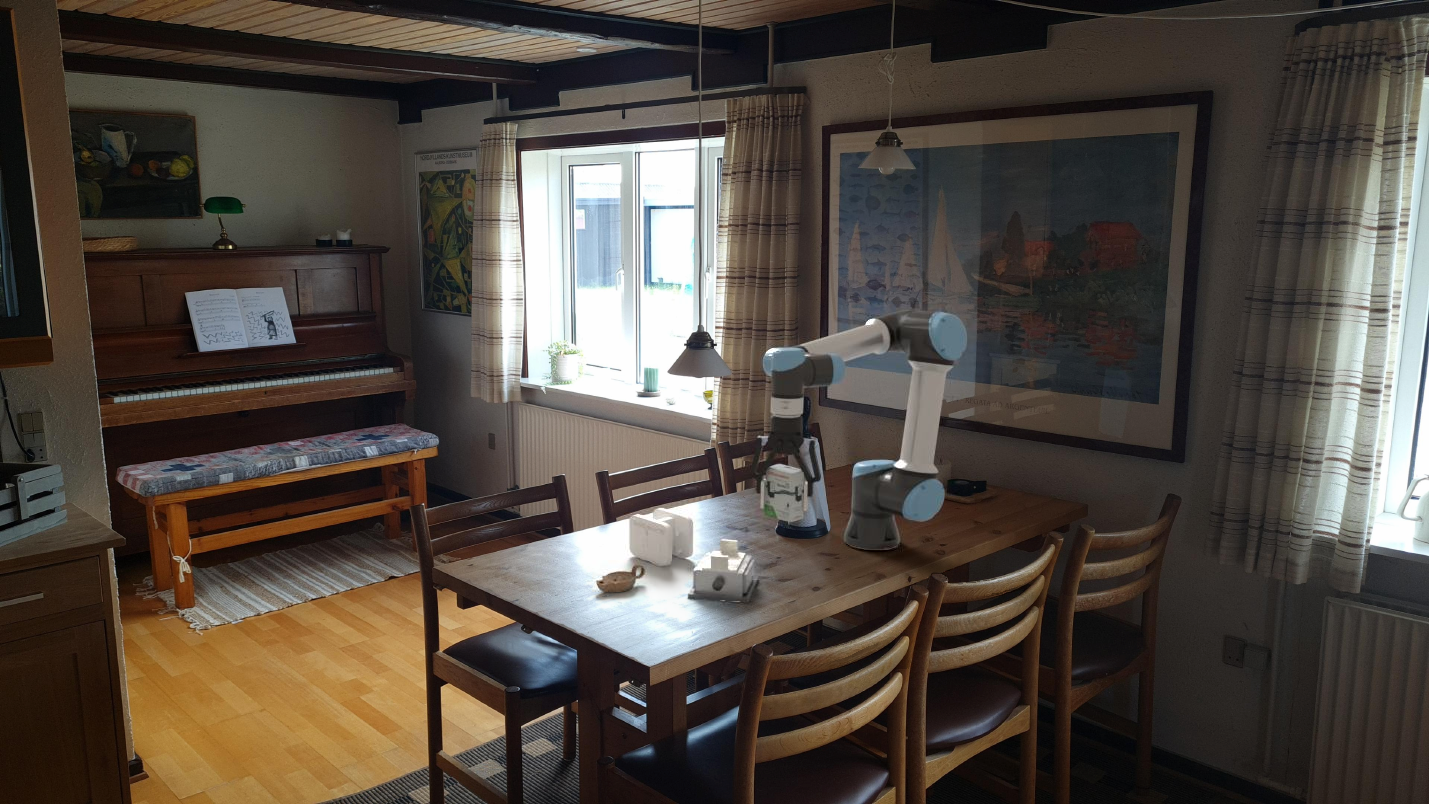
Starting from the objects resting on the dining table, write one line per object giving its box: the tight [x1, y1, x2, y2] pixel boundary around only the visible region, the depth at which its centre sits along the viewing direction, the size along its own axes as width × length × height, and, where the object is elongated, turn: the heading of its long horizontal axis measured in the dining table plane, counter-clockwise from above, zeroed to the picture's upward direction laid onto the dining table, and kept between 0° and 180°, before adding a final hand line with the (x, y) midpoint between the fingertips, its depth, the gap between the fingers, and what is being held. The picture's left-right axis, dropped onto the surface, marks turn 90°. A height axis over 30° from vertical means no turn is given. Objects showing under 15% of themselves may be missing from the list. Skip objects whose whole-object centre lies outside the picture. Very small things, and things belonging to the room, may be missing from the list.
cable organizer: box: [628, 507, 694, 567], centre depth 254 cm, size 15×11×12 cm
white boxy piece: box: [687, 538, 759, 603], centre depth 233 cm, size 14×16×10 cm
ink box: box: [763, 463, 806, 523], centre depth 231 cm, size 9×5×12 cm, turn 45°
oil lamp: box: [595, 563, 646, 593], centre depth 233 cm, size 13×8×5 cm, turn 125°
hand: (784, 508), depth 232 cm, fingers closed on ink box, 9 cm apart
